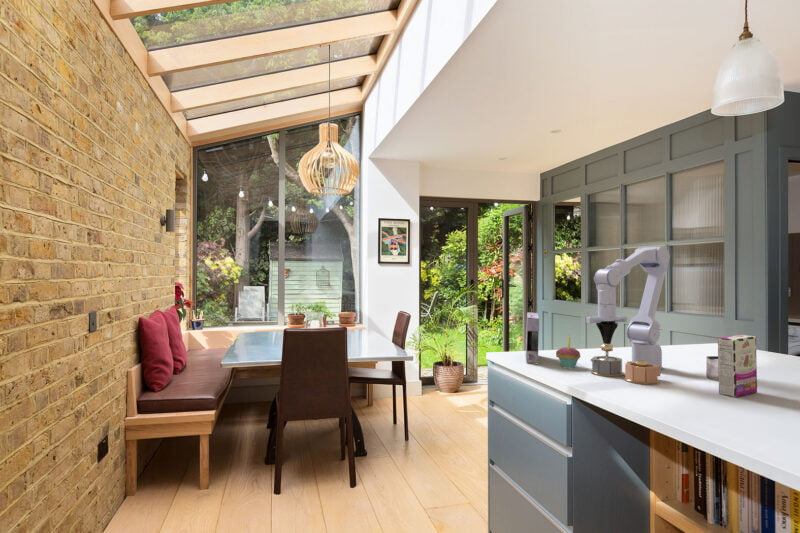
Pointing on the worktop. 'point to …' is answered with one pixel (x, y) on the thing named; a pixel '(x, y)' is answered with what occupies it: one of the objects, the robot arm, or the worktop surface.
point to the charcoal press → (607, 366)
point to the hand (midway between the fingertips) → (606, 343)
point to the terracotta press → (642, 373)
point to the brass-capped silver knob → (606, 348)
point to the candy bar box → (737, 365)
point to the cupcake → (568, 356)
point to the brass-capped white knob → (641, 363)
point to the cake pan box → (532, 337)
